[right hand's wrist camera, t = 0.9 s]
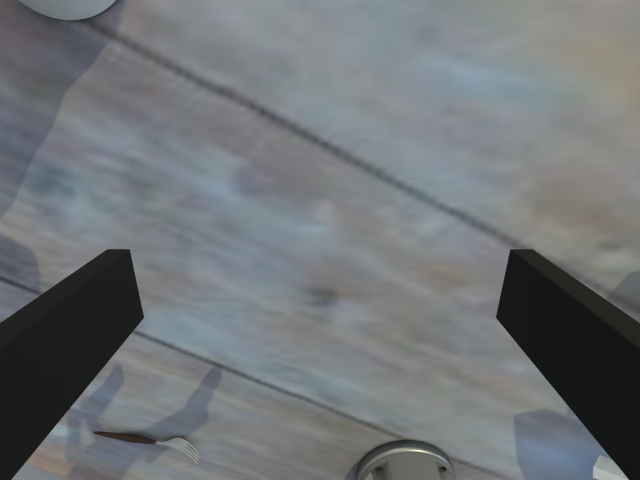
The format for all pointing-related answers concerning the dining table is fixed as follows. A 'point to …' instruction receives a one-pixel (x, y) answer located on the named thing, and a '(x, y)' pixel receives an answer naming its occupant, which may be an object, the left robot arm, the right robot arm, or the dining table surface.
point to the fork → (154, 442)
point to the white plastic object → (607, 470)
